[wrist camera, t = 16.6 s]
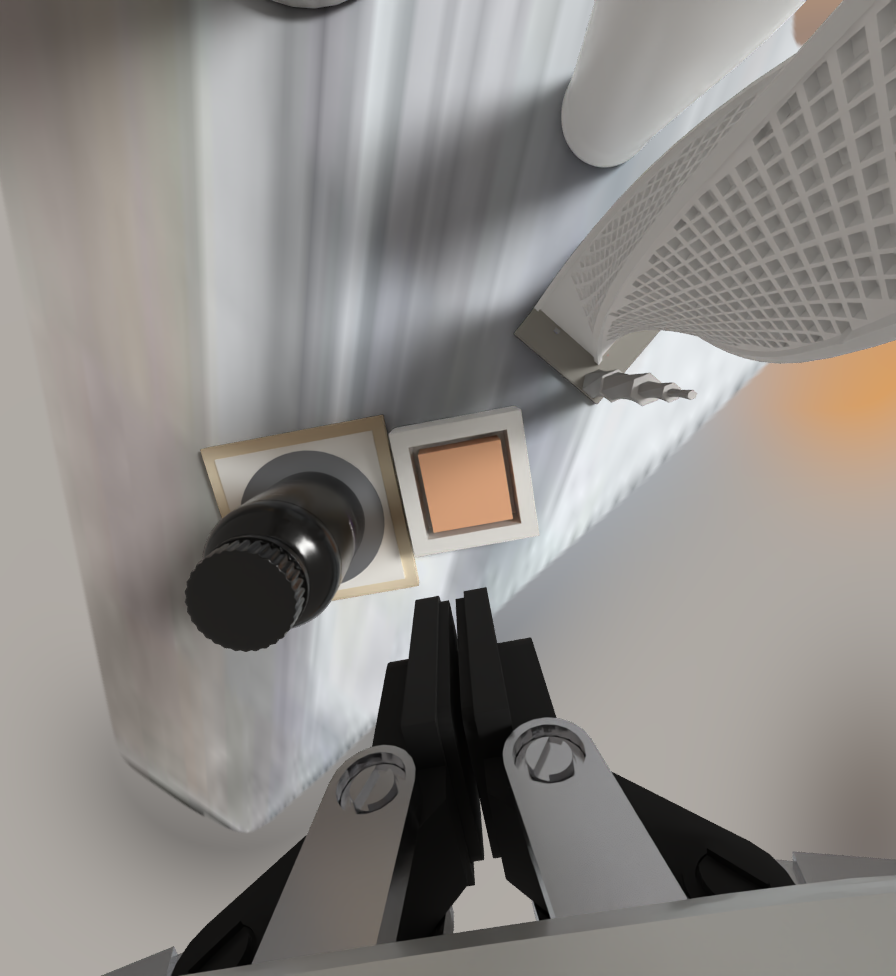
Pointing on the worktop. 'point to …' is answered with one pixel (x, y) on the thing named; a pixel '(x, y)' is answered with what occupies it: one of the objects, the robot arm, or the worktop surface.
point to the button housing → (452, 431)
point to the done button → (465, 483)
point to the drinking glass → (655, 67)
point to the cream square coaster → (350, 458)
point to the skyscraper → (748, 226)
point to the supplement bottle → (275, 561)
